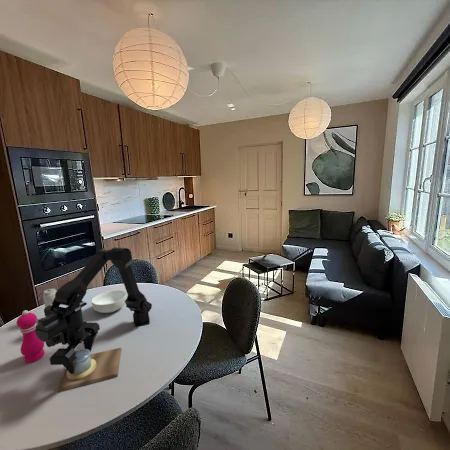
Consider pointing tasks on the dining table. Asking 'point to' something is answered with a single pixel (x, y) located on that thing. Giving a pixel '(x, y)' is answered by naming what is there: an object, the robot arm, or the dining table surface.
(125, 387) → the dining table surface
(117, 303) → the cereal bowl
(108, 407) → the dining table surface
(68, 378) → the base
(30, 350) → the pepper mill
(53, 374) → the dining table surface
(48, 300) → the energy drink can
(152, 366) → the dining table surface
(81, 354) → the cap
